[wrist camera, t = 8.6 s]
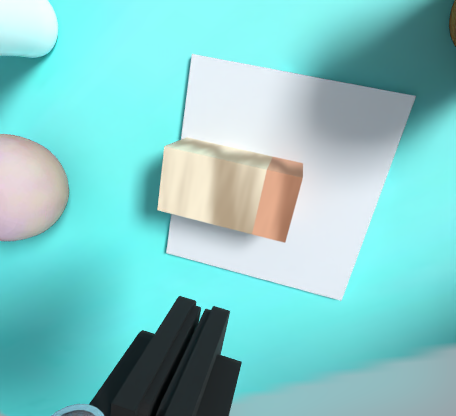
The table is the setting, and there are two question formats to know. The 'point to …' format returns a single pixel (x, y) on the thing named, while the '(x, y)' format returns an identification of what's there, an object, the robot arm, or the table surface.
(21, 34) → the drinking glass
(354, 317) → the table surface
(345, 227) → the white square plate
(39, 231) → the decorative fruit
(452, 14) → the disposable coffee cup
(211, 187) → the maple block
